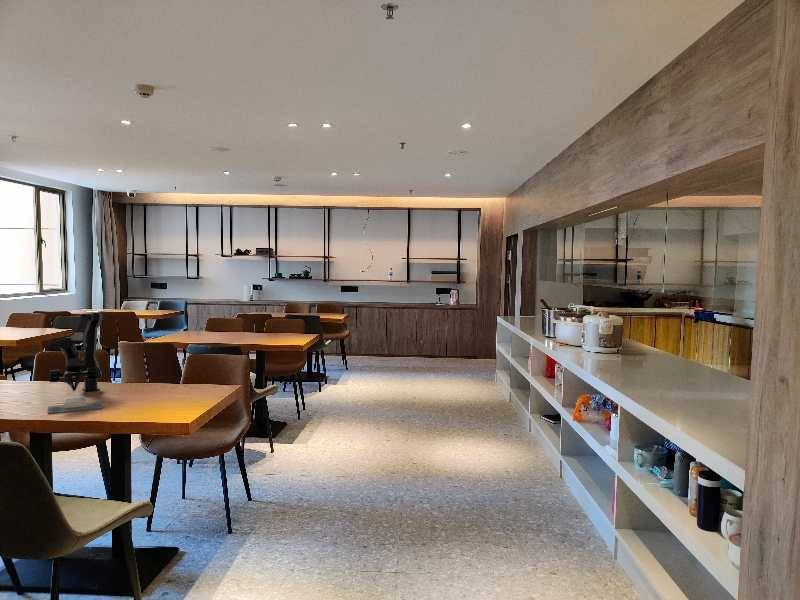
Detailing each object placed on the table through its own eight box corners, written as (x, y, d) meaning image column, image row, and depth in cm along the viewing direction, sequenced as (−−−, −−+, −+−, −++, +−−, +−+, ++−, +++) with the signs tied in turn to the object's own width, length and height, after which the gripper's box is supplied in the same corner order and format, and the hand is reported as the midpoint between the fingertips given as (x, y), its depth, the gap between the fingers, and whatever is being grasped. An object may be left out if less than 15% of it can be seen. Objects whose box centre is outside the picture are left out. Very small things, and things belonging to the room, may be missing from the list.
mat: (47, 407, 248) (47, 406, 248) (99, 403, 259) (99, 401, 259) (47, 414, 237) (47, 412, 237) (102, 409, 248) (102, 407, 248)
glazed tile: (63, 398, 253) (64, 402, 244) (84, 396, 257) (85, 400, 249) (63, 404, 253) (64, 408, 244) (84, 402, 257) (85, 406, 249)
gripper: (49, 352, 252) (49, 381, 243) (97, 350, 261) (99, 377, 253) (48, 367, 259) (49, 396, 250) (95, 364, 268) (97, 392, 260)
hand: (74, 390), depth 253 cm, fingers closed
